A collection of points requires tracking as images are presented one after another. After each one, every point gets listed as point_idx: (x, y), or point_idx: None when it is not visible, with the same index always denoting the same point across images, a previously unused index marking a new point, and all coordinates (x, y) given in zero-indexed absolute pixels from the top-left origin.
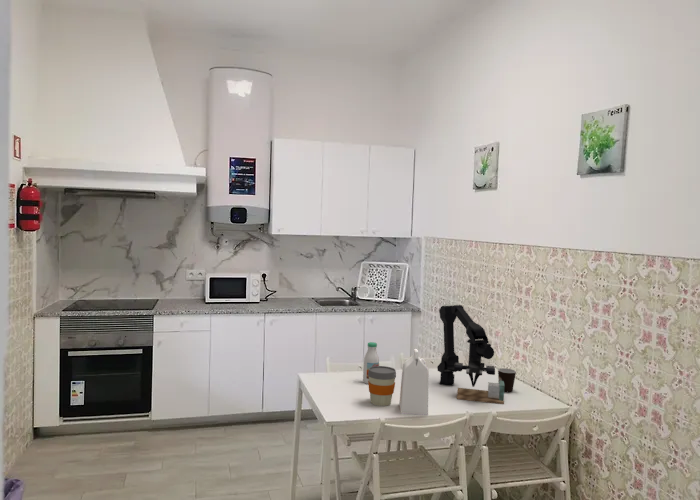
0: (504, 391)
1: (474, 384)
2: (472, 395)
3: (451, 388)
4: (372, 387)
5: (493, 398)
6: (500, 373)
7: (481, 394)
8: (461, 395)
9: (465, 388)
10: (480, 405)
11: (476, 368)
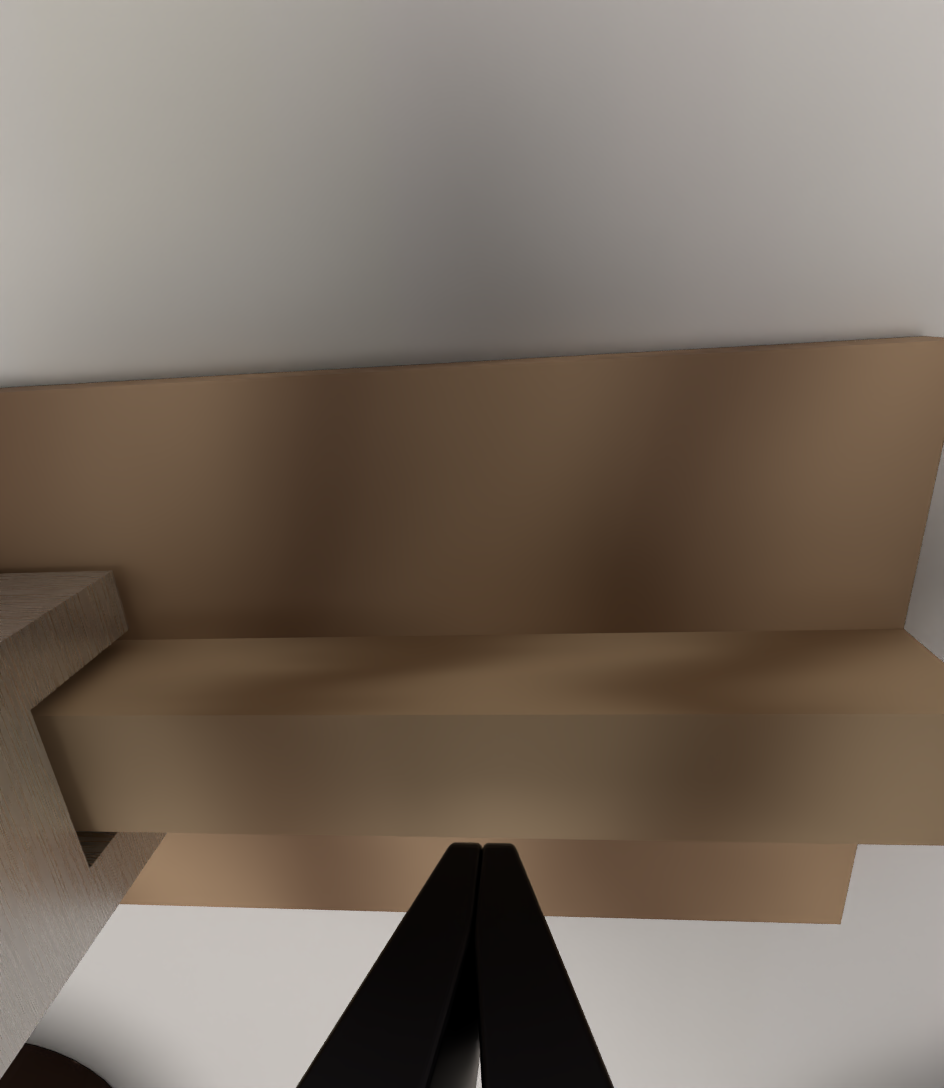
0: (17, 1056)
1: (431, 908)
2: (503, 637)
3: (926, 1013)
4: None
5: None
6: None
7: (269, 664)
8: (799, 546)
9: (722, 832)
10: (231, 3)
11: None
